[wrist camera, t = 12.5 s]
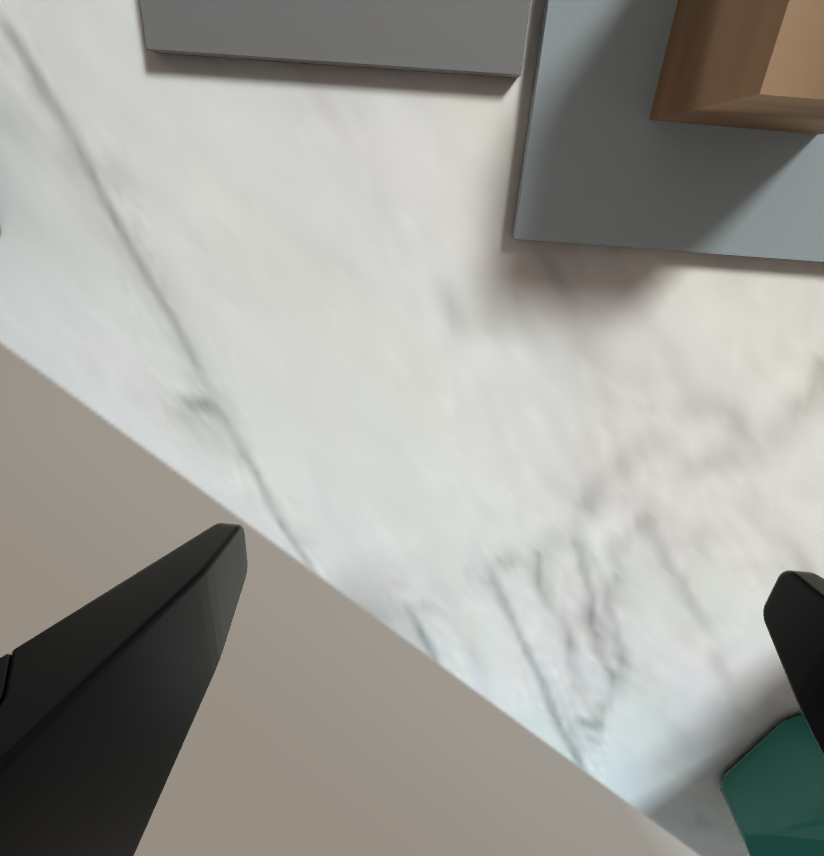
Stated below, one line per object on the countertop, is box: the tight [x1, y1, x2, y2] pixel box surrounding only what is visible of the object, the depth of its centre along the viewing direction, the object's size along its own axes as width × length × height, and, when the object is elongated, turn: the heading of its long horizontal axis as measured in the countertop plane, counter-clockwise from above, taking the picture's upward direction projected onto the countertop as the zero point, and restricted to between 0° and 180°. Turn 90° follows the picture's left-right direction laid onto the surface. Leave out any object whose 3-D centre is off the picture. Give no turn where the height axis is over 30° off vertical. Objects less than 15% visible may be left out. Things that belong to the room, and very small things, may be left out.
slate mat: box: [512, 0, 824, 262], centre depth 15 cm, size 12×12×1 cm
